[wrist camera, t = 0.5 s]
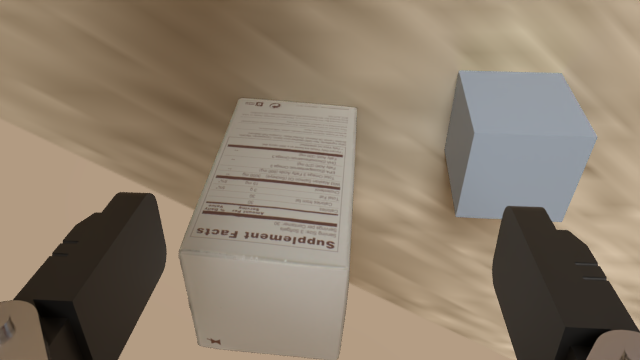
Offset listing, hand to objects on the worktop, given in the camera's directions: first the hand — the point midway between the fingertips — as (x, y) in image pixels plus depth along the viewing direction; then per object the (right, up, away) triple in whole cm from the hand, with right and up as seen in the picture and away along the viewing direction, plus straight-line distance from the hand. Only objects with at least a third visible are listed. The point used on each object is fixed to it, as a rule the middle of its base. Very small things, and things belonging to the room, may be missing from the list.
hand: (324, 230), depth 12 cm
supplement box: (-2, +3, +21) cm, 21 cm away
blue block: (+10, +5, +18) cm, 21 cm away
